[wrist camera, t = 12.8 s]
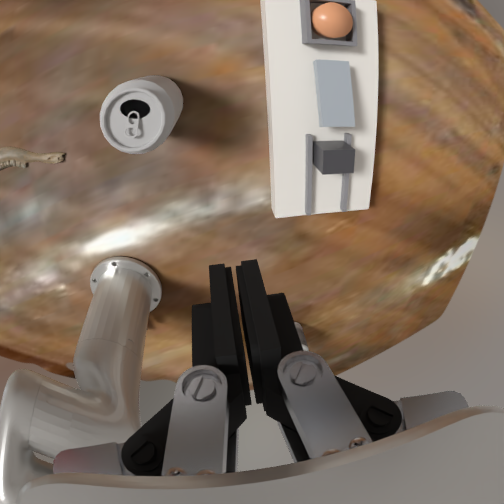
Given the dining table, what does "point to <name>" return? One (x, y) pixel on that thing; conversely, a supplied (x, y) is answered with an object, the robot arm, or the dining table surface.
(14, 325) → the dining table surface
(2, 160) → the jawbone
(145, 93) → the can
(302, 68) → the panel
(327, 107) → the slate rocker
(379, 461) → the robot arm
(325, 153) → the slider
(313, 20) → the button
